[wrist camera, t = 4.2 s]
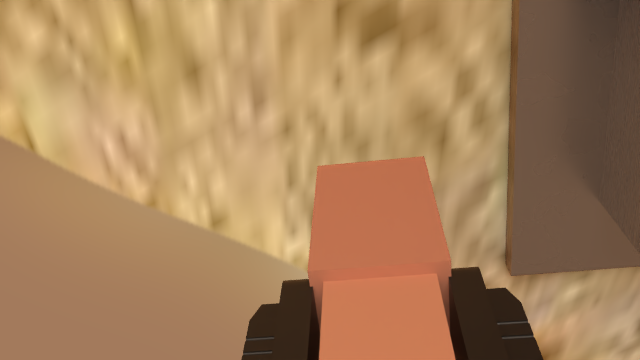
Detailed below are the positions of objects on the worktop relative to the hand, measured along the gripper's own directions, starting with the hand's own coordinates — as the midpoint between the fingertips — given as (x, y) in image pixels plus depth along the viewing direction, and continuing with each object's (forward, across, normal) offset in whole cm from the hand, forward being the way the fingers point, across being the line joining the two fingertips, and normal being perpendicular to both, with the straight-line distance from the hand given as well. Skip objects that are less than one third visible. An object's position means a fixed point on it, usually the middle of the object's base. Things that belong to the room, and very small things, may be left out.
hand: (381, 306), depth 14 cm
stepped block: (+5, 0, 0) cm, 5 cm away
